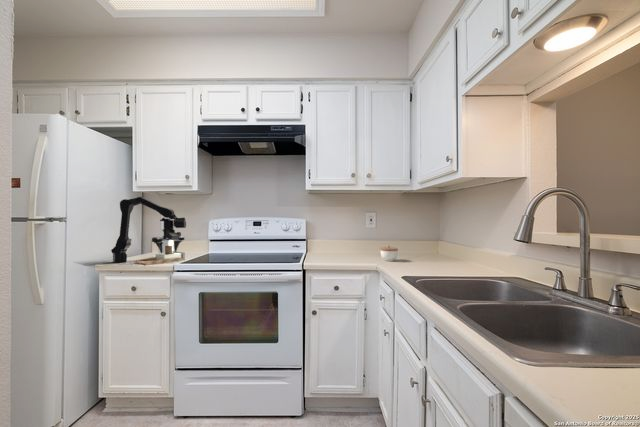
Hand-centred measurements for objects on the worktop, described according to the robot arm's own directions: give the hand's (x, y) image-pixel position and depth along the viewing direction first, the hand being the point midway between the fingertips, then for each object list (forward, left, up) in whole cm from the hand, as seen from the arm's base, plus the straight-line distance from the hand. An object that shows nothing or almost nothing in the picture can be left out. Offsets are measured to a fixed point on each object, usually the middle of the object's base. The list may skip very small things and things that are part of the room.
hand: (168, 252), depth 198 cm
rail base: (-5, 0, -6) cm, 7 cm away
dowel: (0, 0, -4) cm, 4 cm away
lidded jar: (+79, -118, -6) cm, 142 cm away
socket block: (0, 0, -4) cm, 4 cm away
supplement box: (+7, +17, -6) cm, 19 cm away
